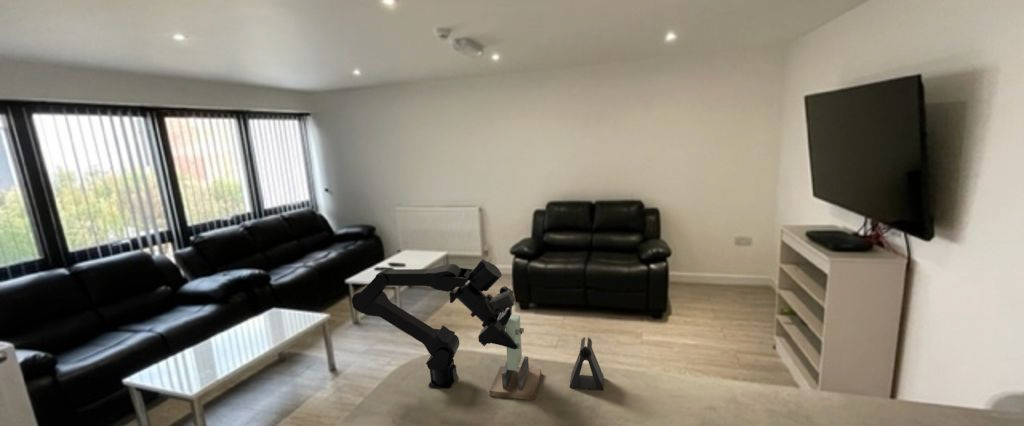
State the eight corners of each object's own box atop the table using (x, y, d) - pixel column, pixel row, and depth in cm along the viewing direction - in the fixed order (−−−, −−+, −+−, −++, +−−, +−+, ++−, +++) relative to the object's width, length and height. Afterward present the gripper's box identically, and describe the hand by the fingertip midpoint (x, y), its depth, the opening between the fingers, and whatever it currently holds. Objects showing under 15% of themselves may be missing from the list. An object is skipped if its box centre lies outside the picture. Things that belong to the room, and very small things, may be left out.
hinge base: (489, 395, 113) (488, 375, 112) (501, 370, 124) (499, 351, 123) (534, 400, 110) (533, 379, 109) (541, 373, 122) (540, 354, 120)
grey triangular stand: (603, 377, 118) (603, 338, 116) (603, 390, 112) (602, 349, 110) (571, 375, 120) (570, 336, 118) (569, 388, 114) (568, 347, 112)
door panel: (507, 369, 113) (505, 326, 111) (513, 355, 120) (511, 314, 117) (520, 370, 112) (518, 327, 110) (525, 356, 119) (523, 315, 116)
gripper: (488, 296, 103) (534, 339, 103) (502, 270, 121) (542, 307, 121) (459, 324, 106) (504, 367, 106) (477, 295, 124) (516, 331, 124)
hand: (518, 341), depth 115 cm, fingers closed on door panel, 7 cm apart
